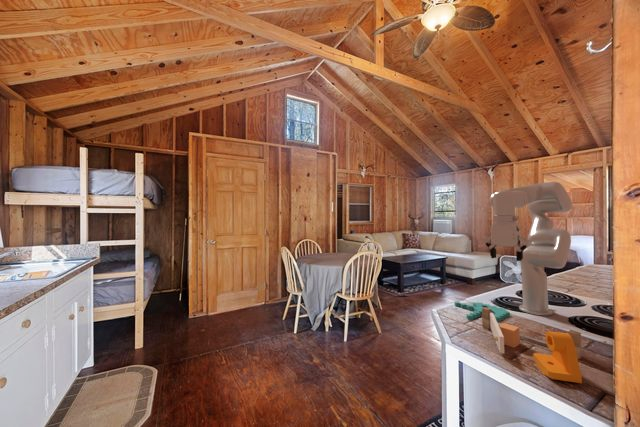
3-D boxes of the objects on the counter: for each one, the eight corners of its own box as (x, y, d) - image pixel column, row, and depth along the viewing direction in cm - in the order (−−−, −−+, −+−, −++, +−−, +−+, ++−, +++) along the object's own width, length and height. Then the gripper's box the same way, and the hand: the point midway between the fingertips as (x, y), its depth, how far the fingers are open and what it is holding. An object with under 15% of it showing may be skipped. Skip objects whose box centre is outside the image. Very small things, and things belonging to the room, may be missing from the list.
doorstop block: (504, 338, 99) (503, 322, 99) (519, 343, 95) (519, 327, 95) (498, 342, 96) (497, 326, 96) (514, 347, 92) (513, 331, 92)
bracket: (532, 361, 84) (531, 324, 84) (560, 364, 81) (559, 326, 81) (549, 381, 73) (547, 339, 74) (582, 386, 71) (580, 342, 71)
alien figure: (468, 320, 117) (518, 323, 113) (468, 315, 117) (517, 318, 113) (454, 305, 137) (496, 307, 133) (454, 301, 137) (496, 303, 133)
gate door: (493, 326, 107) (492, 312, 107) (504, 353, 86) (503, 337, 86) (487, 325, 108) (486, 312, 108) (496, 352, 87) (495, 335, 87)
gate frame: (485, 325, 111) (485, 306, 111) (582, 356, 85) (581, 332, 85) (482, 327, 109) (481, 308, 109) (579, 359, 84) (578, 334, 84)
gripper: (532, 219, 106) (534, 260, 106) (487, 219, 121) (488, 256, 121) (524, 219, 102) (526, 263, 102) (479, 220, 117) (480, 257, 117)
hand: (506, 259), depth 111 cm, fingers open, 9 cm apart
